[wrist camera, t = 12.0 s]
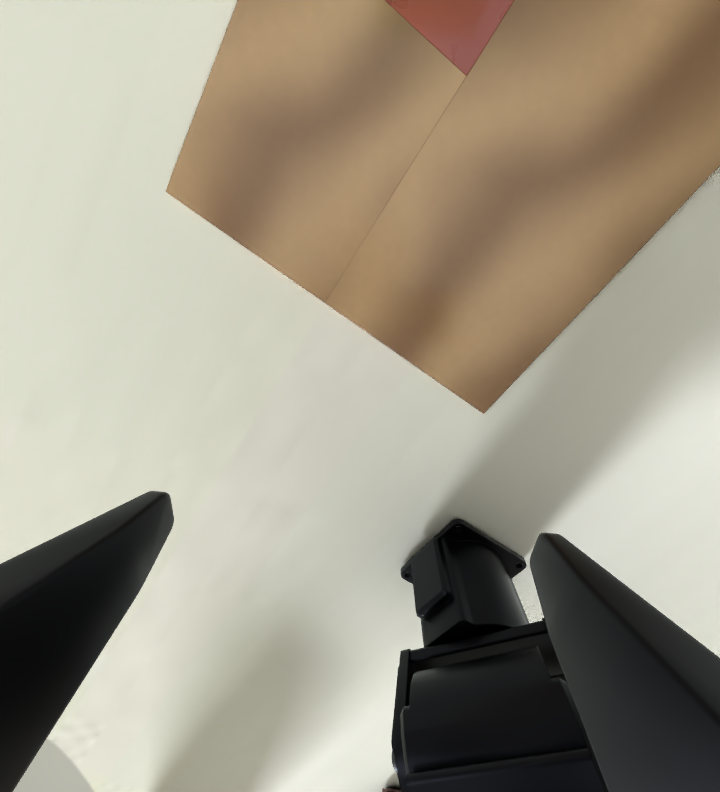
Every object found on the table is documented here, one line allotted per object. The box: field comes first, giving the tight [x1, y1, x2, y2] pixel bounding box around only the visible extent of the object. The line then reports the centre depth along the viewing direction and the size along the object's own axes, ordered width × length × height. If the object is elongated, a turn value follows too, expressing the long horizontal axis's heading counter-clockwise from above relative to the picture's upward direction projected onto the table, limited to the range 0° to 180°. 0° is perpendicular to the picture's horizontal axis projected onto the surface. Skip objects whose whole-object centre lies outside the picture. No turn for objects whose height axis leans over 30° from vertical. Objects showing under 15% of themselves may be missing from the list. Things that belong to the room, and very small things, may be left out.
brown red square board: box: [166, 0, 720, 413], centre depth 14 cm, size 20×20×1 cm
